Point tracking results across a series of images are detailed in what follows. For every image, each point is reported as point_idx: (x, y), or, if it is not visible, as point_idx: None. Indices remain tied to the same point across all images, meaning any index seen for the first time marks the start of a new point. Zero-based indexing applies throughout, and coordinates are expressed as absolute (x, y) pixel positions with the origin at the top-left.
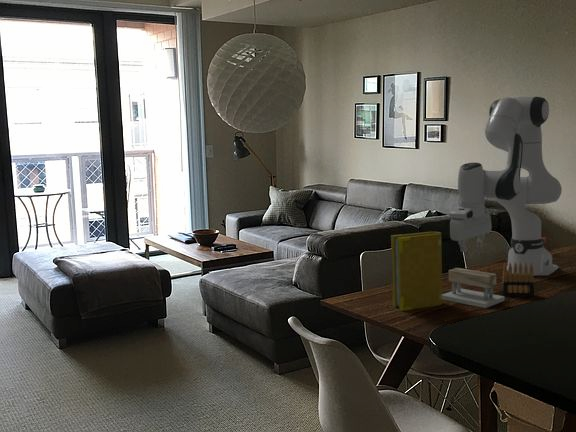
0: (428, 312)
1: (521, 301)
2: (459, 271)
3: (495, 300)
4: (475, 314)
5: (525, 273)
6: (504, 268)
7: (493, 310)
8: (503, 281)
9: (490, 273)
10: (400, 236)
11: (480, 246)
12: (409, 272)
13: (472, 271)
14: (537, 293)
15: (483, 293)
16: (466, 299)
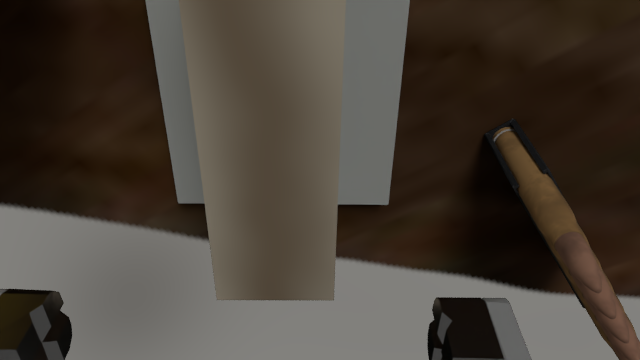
0: None
1: (421, 251)
2: (205, 23)
3: None
4: (54, 205)
5: (596, 323)
6: (562, 258)
7: (183, 231)
8: (520, 187)
9: (324, 266)
10: None
11: (431, 356)
12: None
13: (295, 126)
14: (619, 241)
15: (379, 80)
16: (172, 73)
